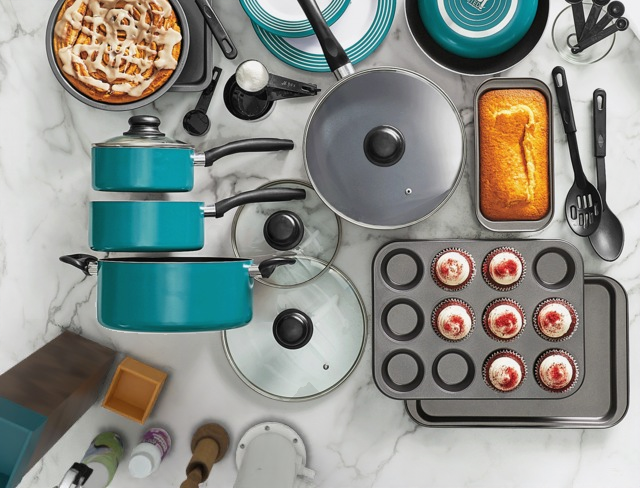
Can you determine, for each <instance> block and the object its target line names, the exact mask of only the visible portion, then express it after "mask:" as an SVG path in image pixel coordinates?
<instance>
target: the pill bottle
mask: <svg viewBox="0 0 640 488" xmlns="http://www.w3.org/2000/svg"><path fill="white" fill-rule="evenodd" d="M171 444H172V440H171V436H170V434H169V433H168V432H167V431H166V430H165V429H164V428H162V427H152V428H149V429H148V430H147V431H145V432H144V434H142V436H141V438H140V439H139V440H138V442H137V443H136V444H135V446H134V447H133V448H132V450H131V452H130V455H129V461H128V467H127V468H128V471H129V473H130V475H131V476H132V477H134V478H135V479H139V480H140V479H145V478H147V477H148V476H149V475H151V474H153V473H155V472H156V471H157V470H158V469H159V468H160V466H161V464H162V462H163V461H164V459H165V458H166V456H167V455H168V452H169V451H170V449H171Z"/></svg>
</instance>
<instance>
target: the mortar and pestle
mask: <svg viewBox="0 0 640 488" xmlns="http://www.w3.org/2000/svg"><path fill="white" fill-rule="evenodd" d="M229 446H230V438H229V434H228V432H227V430H226V429H225V428H224V427H223V426H222V425H220V424H218V423H214V422H212V423H211V422H210V423H205V424H203V425H201V426H199V427H198V428H197V430H196V431H195V433H194V434H193V437H192V439H191V441H190V453H191V454H192V455H191V458H190V459H189V462H188V463H187V465H186V468H185V476H186V479H185V480H183V481H182V482H181V483H180V485H179V488H200V484H203V483H205V482H206V481H207V480H208V478H209V477H210V474H211V472H212V469H213V467H214V465H215V464H217V463H219V462H220V461H221V460H222V459H224V458H225V455H226V453H227V451H228V448H229Z"/></svg>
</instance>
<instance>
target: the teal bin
mask: <svg viewBox="0 0 640 488" xmlns="http://www.w3.org/2000/svg"><path fill="white" fill-rule="evenodd" d="M47 420H48V417H46V416H43V415H41V414H39V413H37V412H34V411H32V410H30V409H28V408H25V407H23V406H21V405H19V404H16V403H14V402H12V401H9V400H7V399H5V398H3V397H0V488H17V487H18V486H19V485H20V484H21V482H22V481H23V479H24V477H25V476H24V474H25V471H26V469H27V467H28V464H29V462H30V460H31V457H32V455H33V453H34V450H35V448H36V446H37V443H38V441H39V439H40V436H41V434H42V432H43V429H44V427H45V425H46V422H47ZM23 476H24V477H23Z"/></svg>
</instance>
